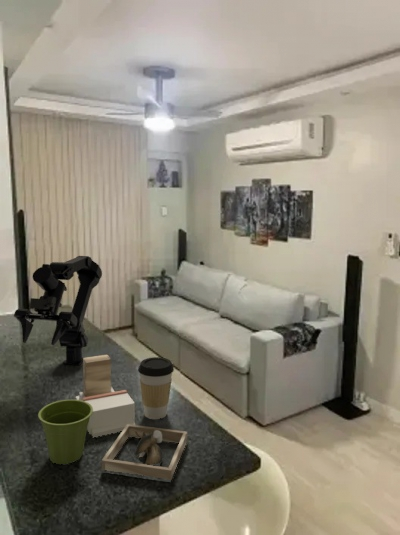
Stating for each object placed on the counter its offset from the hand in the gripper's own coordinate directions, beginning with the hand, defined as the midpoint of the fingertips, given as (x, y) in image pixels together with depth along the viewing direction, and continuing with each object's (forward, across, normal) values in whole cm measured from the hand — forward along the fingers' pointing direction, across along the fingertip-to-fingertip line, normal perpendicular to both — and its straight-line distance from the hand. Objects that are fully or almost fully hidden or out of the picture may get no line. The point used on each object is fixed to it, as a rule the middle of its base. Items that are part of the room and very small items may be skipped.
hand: (38, 343), depth 128 cm
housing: (+18, +24, +2) cm, 30 cm away
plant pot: (+31, +24, -15) cm, 41 cm away
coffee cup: (+16, +39, +4) cm, 42 cm away
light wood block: (+13, +20, +6) cm, 25 cm away
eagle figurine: (+29, +42, -12) cm, 53 cm away
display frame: (+29, +42, -12) cm, 52 cm away
